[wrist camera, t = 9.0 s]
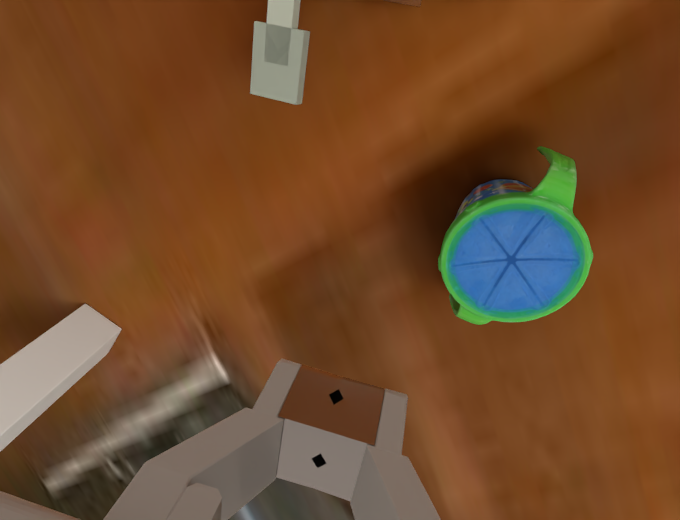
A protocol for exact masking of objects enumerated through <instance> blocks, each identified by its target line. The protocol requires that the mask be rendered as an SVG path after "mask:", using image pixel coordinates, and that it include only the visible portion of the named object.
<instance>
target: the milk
mask: <svg viewBox="0 0 680 520" xmlns="http://www.w3.org/2000/svg"><path fill="white" fill-rule="evenodd" d="M121 330H122V329H121V328H120V327H118V326H117V325H116V324H114V323H113V322H111V321H110V320H109V319H107V318H106V317H104V316H103V315H101V314H100V313H99V312H97V311H96V310H94V309H93V308H91V307H90V306H89V305H87V304H84V305H82V306H81V307H80V308H78V309H77V310H75V311H74V312H73V313H71V314H70V315H68V316H67V317H66V318H64V319H63V320H62V321H60V322H59V323H57V324H56V325H55V326H53V327H52V328H50V329H49V330H48V331H46V332H45V333H43V334H42V335H41V336H39V337H38V338H37V339H35V340H34V341H32V342H31V343H30V344H28V345H27V346H25V347H24V348H23V349H21V350H20V351H18V352H17V353H16V354H14V355H13V356H12V357H10V358H9V359H7V360H6V361H5V362H3V363H2V364H0V451H1V450H2V449H4V448H5V447H6V446H7V445H8V444H9V443H10V442H11V441H12V440H13V439H15V438H16V437H17V436H18V435H19V434H20V433H21V432H22V431H23V430H24V429H25V428H27V427H28V426H29V425H30V424H31V423H32V422H33V421H34V420H35V419H36V418H38V417H39V416H40V415H41V414H42V413H43V412H44V411H45V410H46V409H47V408H48V407H50V406H51V405H52V404H53V403H54V402H55V401H56V400H57V399H58V398H59V397H61V396H62V395H63V394H64V393H65V392H66V391H67V390H68V389H69V388H70V387H71V386H73V385H74V384H75V383H76V382H77V381H78V380H79V379H80V378H81V377H82V376H83V375H85V374H86V373H87V372H88V371H89V370H90V369H91V368H92V367H93V366H94V365H96V364H97V363H98V362H99V361H100V360H101V359H102V358H103V357H104V356H105V355H106V354H108V352H109V351H110V349H111V347H112V345H113V344H114V342H115V340H116V338H117V337H118V335H119V333H120V332H121Z"/></svg>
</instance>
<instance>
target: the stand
mask: <svg viewBox="0 0 680 520" xmlns="http://www.w3.org/2000/svg"><path fill="white" fill-rule="evenodd" d="M384 1H389V2H395V3H400V4H406V5H411V6H417V7H420V5H421V1H422V0H384Z"/></svg>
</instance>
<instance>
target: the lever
mask: <svg viewBox="0 0 680 520" xmlns="http://www.w3.org/2000/svg"><path fill="white" fill-rule="evenodd" d="M300 1H301V0H268V9H267V23H264V22H258V21H254V35H253V53H252V70H251V87H250V94H254V95H258V96H262V97H266V98H270V99H274V100H278V101H283V102H287V103H291V104H295V105H298V104H302V99H303V90H304V81H305V72H306V63H307V55H308V46H309V37H310V31H305V30H300V29H298V21H299V11H300Z"/></svg>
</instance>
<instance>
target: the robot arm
mask: <svg viewBox="0 0 680 520" xmlns="http://www.w3.org/2000/svg"><path fill="white" fill-rule="evenodd" d="M407 401H408V397H407V394H403V393H400V392H396V391H392V390H389V389H385V390H384V388H381V387H377V386H374V385H370V384H367V383H363V382H359V381H356V380H352V379H349V378H345V377H341V376H338V375H335V374H331V373H328V372H325V371H322V370H319V369H315V368H312V367H309V366H306V365H303V364H302V365H301V364H298V363H295V362H292V361H288V360H285V359H281V360H279V361H278V362H277V364H276V366H275V368H274V370H273V372H272V374H271V375H270V377H269V379H268V381H267V383H266V385H265V387H264V388H263V390H262V392H261V394H260V396H259V398H258V400H257V401H256V403H255V405H254V407H253V409H249V408H244V409H243V410H241V411H239V412H237V413H235V414H233V415H232V416H230V417H228V418H226V419H224V420H222V421H220V422H219V423H217V424H215V425H213V426H211V427H209V428H208V429H206V430H204V431H202V432H200V433H198V434H197V435H195V436H193V437H191V438H189V439H187V440H185V441H184V442H182V443H180V444H178V445H176V446H174V447H173V448H171V449H169V450H167V451H165V452H163V453H162V454H160V455H158V456H156V457H154V458H152V459H150V460H149V461H147V462H145V463H144V465H143V466H142V467H141V469H140V470H139V471H138V473H137V474H136V476H135V477H134V478H133V480H132V481H131V482H130V484H129V485H128V487H127V488H126V489H125V491H124V492H123V493H122V495H121V496H120V497H119V499H118V500H117V502H116V503H115V504H114V506H113V507H112V508H111V510H110V511H109V513H108V514H107V515H106V517H105V518H104V519H103V520H228V519H229V518H230V517H231V516H232V515H234V514H235V513H236V512H237V511H238V510H240V509H241V508H242V507H243V506H244V505H246V504H247V503H248V502H249V501H250V500H251V499H253V498H254V497H255V496H256V495H257V494H259V493H260V492H261V491H262V490H263V489H265V488H266V487H267V486H268V485H269V484H270V483H272V482H273V481H274V480H275V477H277V478H280V479H284V480H287V481H291V482H294V483H298V484H301V485H304V486H308V487H311V488H314V489H317V490H320V491H323V492H326V493H328V494H331V495H334V496H337V497H340V498H343V499H345V500H348V501H351V503H350V504H351V508H352V511H353V514H354V518H355V520H441V519H440V517H439V515H438V513H437V511H436V509H435V508H434V506H433V504H432V502H431V500H430V498H429V496H428V494H427V492H426V490H425V488H424V487H423V485H422V483H421V481H420V479H419V477H418V475H417V473H416V471H415V469H414V467H413V466H412V464H411V462H410V460H409V458H408V457H406V456H403V455H401V454H402V445H403V436H404V427H405V418H406V409H407ZM0 520H80V519H77V518H74V517H71V516H69V515H66V514H63V513H60V512H57V511H55V510H52V509H49V508H46V507H43V506H41V505H38V504H35V503H32V502H29V501H27V500H24V499H21V498H18V497H15V496H13V495H10V494H7V493H4V492H1V491H0Z"/></svg>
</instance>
